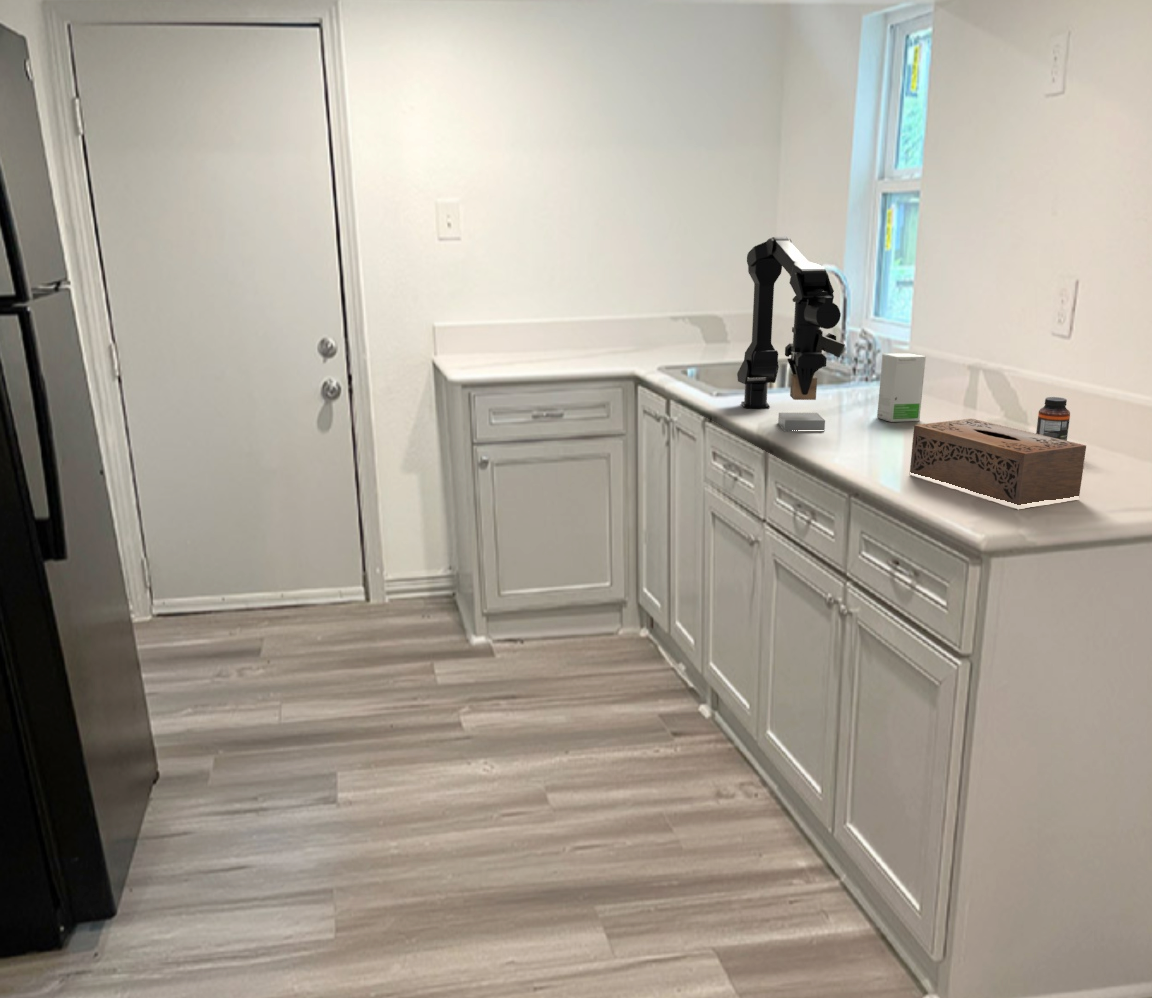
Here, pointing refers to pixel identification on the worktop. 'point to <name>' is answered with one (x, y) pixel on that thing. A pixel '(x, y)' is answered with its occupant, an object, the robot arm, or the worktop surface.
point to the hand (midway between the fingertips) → (802, 392)
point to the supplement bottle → (1054, 418)
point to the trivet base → (801, 421)
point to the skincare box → (901, 387)
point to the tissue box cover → (998, 460)
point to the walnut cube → (796, 390)
